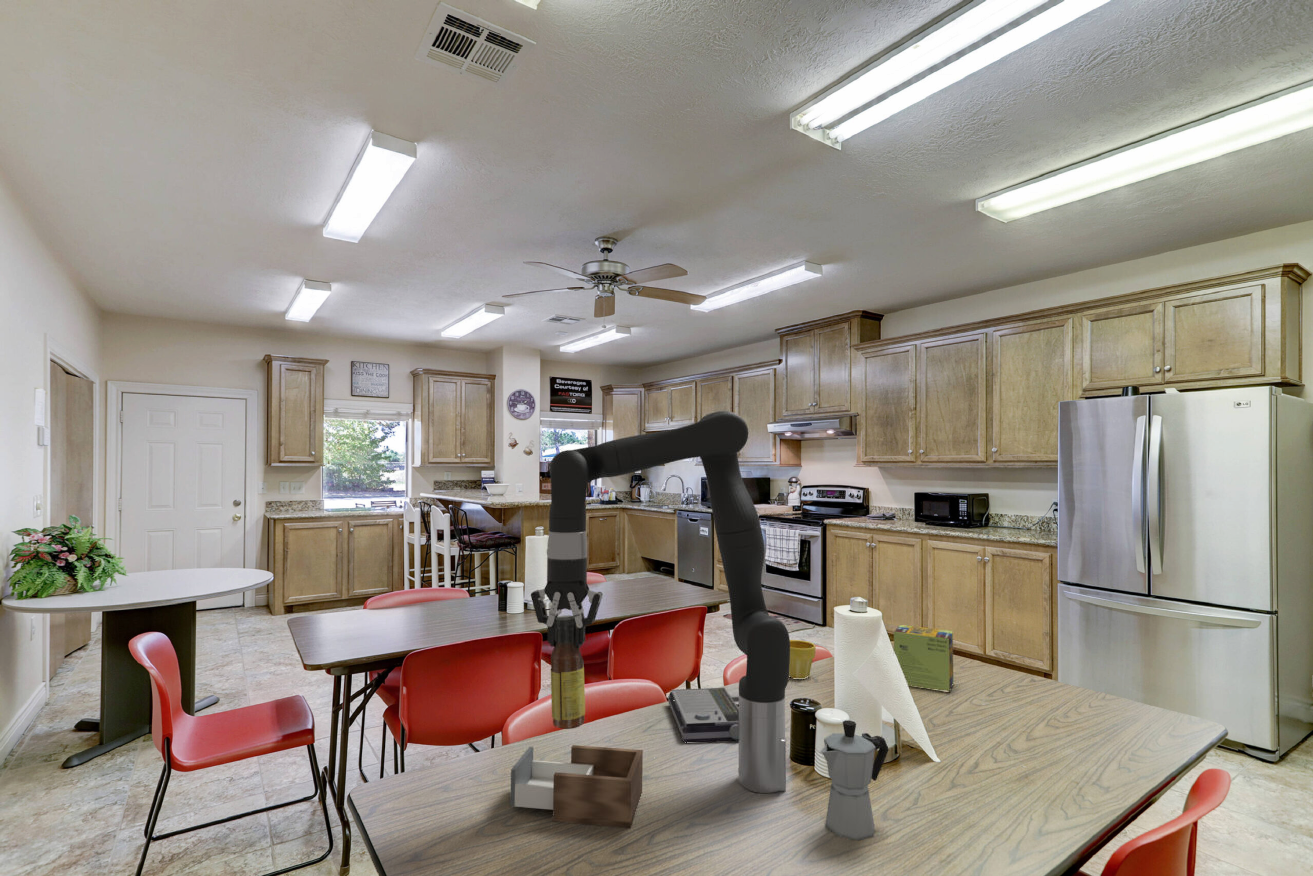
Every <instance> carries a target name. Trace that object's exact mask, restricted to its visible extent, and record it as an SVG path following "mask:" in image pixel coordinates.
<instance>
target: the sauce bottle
mask: <svg viewBox="0 0 1313 876" xmlns="http://www.w3.org/2000/svg"><path fill="white" fill-rule="evenodd" d="M555 625H556V635H557V637H556V645H555V647H553V649H552V652H551V653H550V654H551V655H550V664H551V665H550V691H551V693H550V694H551V717H552V723H553V726H554V727H556V728H559V729H562V730H571V729H577V728H579V727H580V726H583V725H584V723H585V716H586V715H585V714H586V695H585V694H586V693H585V692H586V691H585V667H584V659H583V656H582V653H581V649H580V648H576V647H575V639H576V627H577V625H576V622H575V618H574V616H573V614H572V615H569V614H567V615H558V617H556V618H555Z"/></svg>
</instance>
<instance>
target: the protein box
mask: <svg viewBox="0 0 1313 876" xmlns="http://www.w3.org/2000/svg"><path fill="white" fill-rule="evenodd" d="M894 651H895V654H896V655H897V658H898V661H899V663H900V665H901V668H902V670H903V673H904V675H905V678H906V680H907V682H908V685H909V686H910V688H914V687H913V686H917V687H923V688H930V689H938V690H947V691H950V689H951V690H952V688H953V686H952V684H953V682H954V681H955V680H954V677H955V676H954V630H946V629H938V628H930V627H920V626H912V625H903V624H900V625H899V626H898V627H897V628H896V629H895V630H893V652H894ZM911 685H912V687H911ZM953 685H954V684H953ZM909 686H908V687H909ZM951 687H952V688H951ZM950 692H951V691H950Z"/></svg>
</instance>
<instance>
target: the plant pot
mask: <svg viewBox="0 0 1313 876" xmlns="http://www.w3.org/2000/svg"><path fill="white" fill-rule="evenodd" d="M815 657H816V645H815V644H814V643H812V642H810V641H806V640H800V639H790V665H789V676H790V677H792V678H805V677H807V676H809V677H810V673H811V670H812V669H811V668H812V665H813V661H814V660H813V659H814V658H815ZM792 678H791V679H792Z"/></svg>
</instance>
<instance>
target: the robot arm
mask: <svg viewBox="0 0 1313 876" xmlns="http://www.w3.org/2000/svg"><path fill="white" fill-rule="evenodd" d="M748 439H749V428H748V425H747V423H746V421H745V420H744V419H743V418H742V416H740V415H739V414H737V413H735V412H732V411H729V410H720V411H719V410H718V411H715V412H711V413H707V414H705V415H703V417H702V418H700V419H699V421H697V422H694V423H692V424H688V425H685V426H681V427H677V428H674V429H669V430H668V429H667V430H661V431H655V432H650V433H644V434H643V433H641V434H637V435H632V436H627V437H622V438H617V439H614V440H613V439H612V440H609V441H605V442H602V443H600V444H597V445H593V446H587V447H582V448H581V447H580V448H576V449H567V450H563V451H560V452H559V453H557V454H555V456H553V458H552V459H551V461H550V464H549V474H550V492H551V493H550V494H551V495H550V498H551V500H550V502H551V503H550V506H549V514H548V515H549V516H548V537H547V538H548V539H547V549H546V559H547V561H546V562H547V563H546V585H545V587H544V588H543V589H542V588H541V589H536V590H534V591H532V592H531V594H530V598H531V601H532V605H533V609H534V612H535V616H536V620H537V623H539V624H544V625H545V626H546V627H547V642H548V644H550V647H553V648H554V647H555V645H556V637H557V635H556V625H555V618H556V617H558V616H560V612H561V610H567V611H571V613H572V616H574V618H575V622H576V639H575V647H576V648H579V649H580V648H581V647H582V645H584V643H585V641H586V626H590V625H592V624H593V623H594V622H595V620H596V617H597V614H598V612H599V608H600V604H601V601H602V599H603V592H601V591H597V592H596V591H594V590H591V589H590V588H589V586H588V581H587V580H588V579H587V578H588V576H587V575H588V537H587V531H586V529H587V509H586V501H587V490H588V482H592V481H594V480H595V481H596V480H599V479H602V478H603V479H604V478H613V477H614V478H615V477H619V476H623V475H627V474H628V475H629V474H632V473H637V472H640V471H644V470H648V469H651V468H655V467H658V466H662V465H665V464H670V463H672V462H673V463H674V462H678V461H682V460H686V459H693V458H700V460H701V463H702V466H703V469H704V470H703V471H704V472H705V476H706V481H707V485H708V490H709V491H708V492H709V499H710V505H711V510H712V511H711V512H712V517H713V518H712V519H713V522H714V529H715V534H716V539H717V544H718V546H717V547H718V550H719V554H720V558H721V563H722V568H723V571H724V572H723V573H724V577H725V582H726V585H727V590H728V594H729V601H730V602H729V603H730V612H731V625H732V634H733V635H732V636H733V638H734V642H735V645H736V646H737V648H738V650H740V651H741V652H742V653H743V654H744V655H745V656H746V671H745V675H744V676H742V677H741V678H740V679H739V682H738V696H739V702H738V708H739V741H738V768H737V769H738V770H737V772H738V773H737V774H738V783H739V785H740V786H741V787H743V788H744V789H746V790H748V791H750V792H755V793H759V794H761V793H762V794H772V793H776V792H783V791H784V792H786V790H787V788H786V787H787V760H786V759H787V756H786V755H787V747H786V745H787V743H786V742H787V741H786V689H787V687H788V682H789V680H790V678H789V665H790V640H791V639H790V634H789V631H788V629H787V627H786V626H785V623H783V622H781V620H779V619H778V618H775V617H773V616H771V615H769V612H768V609H767V605H766V603H765V597H764V593H763V586H762V576H763V575H762V574H763V569H764V568H763V567H764V564H765V563H764V561H765V541H764V535H763V531H762V530H763V529H762V526H761V521H760V518H759V515H758V511H757V509H756V506H755V503H754V501H753V499H752V497H751V495H750V494H749V491H748V488H747V487H746V485H745V482H744V480H743V477H742V474H741V471H740V470H741V469H740V464H739V457H738V456H739V455H738V453H739V452H740V451H741V450H743V448H744V447H745V445H746V444H747V443H748V442H747V441H748ZM586 597H588V602H589V604H590V606H589V608H588V609H589V610H588V612H587V615H586V617H585V612H584V611H585V610H584V606H583V601H584V600H585V599H586ZM545 598H547V599H548V600H549V602H550V603H551V606H550V608H549V612H548V613H547V610H546V606H545V602H544V601H545V600H546V599H545Z"/></svg>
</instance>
